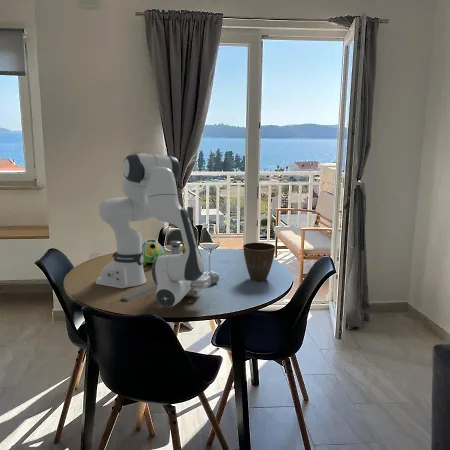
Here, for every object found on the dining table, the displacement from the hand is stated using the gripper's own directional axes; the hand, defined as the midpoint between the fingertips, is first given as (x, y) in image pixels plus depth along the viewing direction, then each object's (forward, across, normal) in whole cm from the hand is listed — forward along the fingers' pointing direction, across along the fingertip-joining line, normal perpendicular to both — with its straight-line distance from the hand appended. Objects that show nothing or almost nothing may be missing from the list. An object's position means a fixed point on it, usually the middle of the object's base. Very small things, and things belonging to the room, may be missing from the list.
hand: (190, 274), depth 181 cm
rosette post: (+1, +3, +10) cm, 10 cm away
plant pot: (+30, -24, +10) cm, 40 cm away
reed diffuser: (+13, 0, +10) cm, 17 cm away
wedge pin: (-1, 0, +9) cm, 9 cm away
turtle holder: (+43, +34, +10) cm, 56 cm away
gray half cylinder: (-2, +22, +10) cm, 24 cm away
